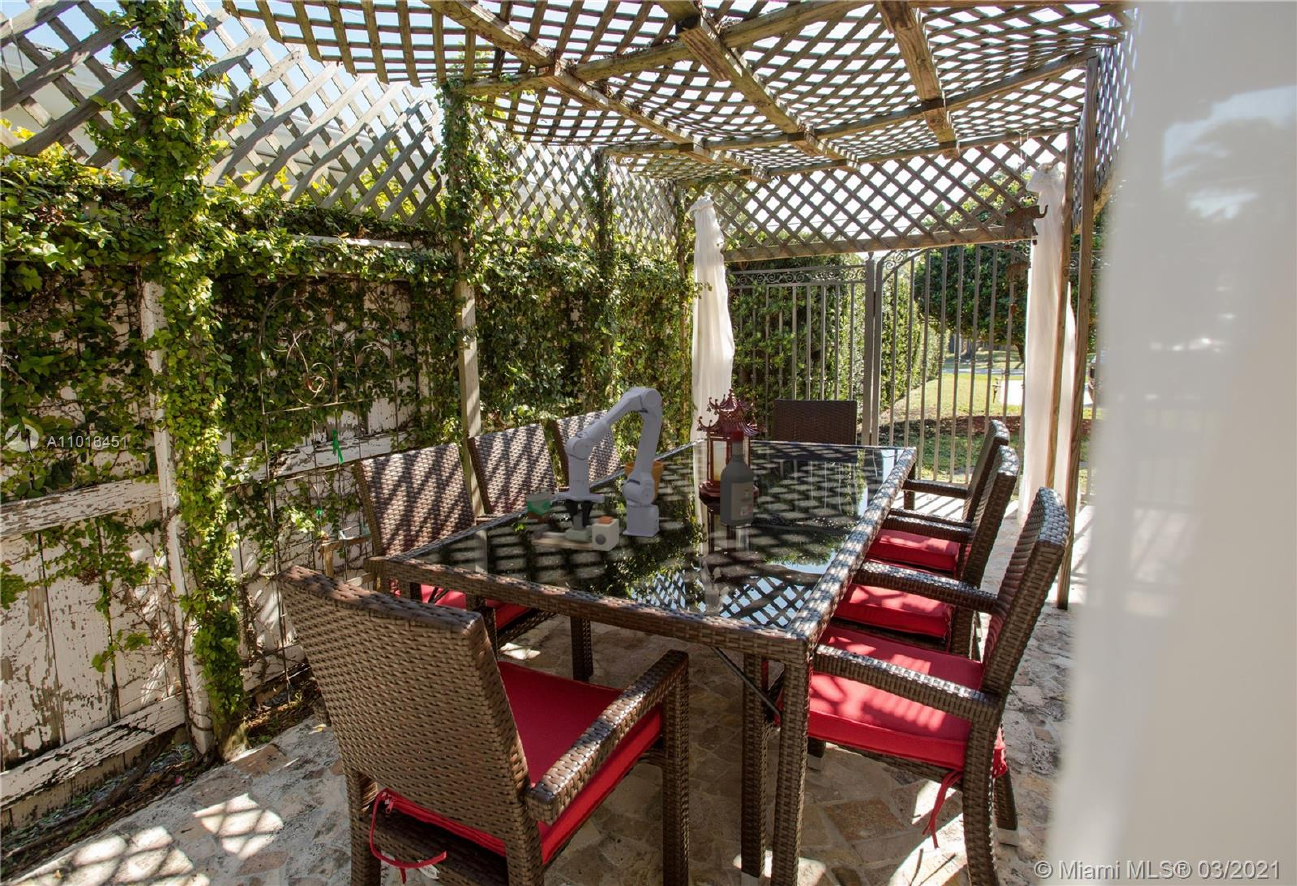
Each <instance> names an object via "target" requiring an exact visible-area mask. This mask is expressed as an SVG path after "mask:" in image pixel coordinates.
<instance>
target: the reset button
mask: <svg viewBox="0 0 1297 886" xmlns="http://www.w3.org/2000/svg"><path fill="white" fill-rule="evenodd" d="M612 519H613V517H612V516H604V515H603V516H601V517H599V518H598V521H599V524H611V523H612Z"/></svg>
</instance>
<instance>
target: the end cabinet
mask: <svg viewBox="0 0 1297 886" xmlns="http://www.w3.org/2000/svg"><path fill="white" fill-rule="evenodd" d="M619 522H620V519H619V518H612V523H611V524H599V520H598V521H596V522H594V523H593V524H592V525H591V526H592V543H593V550H595V551H605V552H610V551H612V550H613V549H614V548H615V547H616V546H617V545H618V544H619V543H620V531H619V530H620V525H619V524H620V523H619ZM616 544H617V545H616ZM593 550H592V551H593Z"/></svg>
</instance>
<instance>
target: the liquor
mask: <svg viewBox="0 0 1297 886" xmlns="http://www.w3.org/2000/svg"><path fill="white" fill-rule="evenodd" d="M744 431H745V430H744V429H732V430H731V441H732V444H731V446H732V447H731V451H732V452H731V459H730V461H729V462H728V463H727V464H726V465H725V467H724V468H723V469H722V471H721V473H720V484H719V485H720V492H719V493H720V495H719V496H720V499H719V502H720V503H719V505H720V506H719V523H720V524H721V523H724V524H727V525H730V526H741V525H744V524H747V523H752V522H753V523H754V492H755V491H754V490H755V489H754V484H755V473H754V472H753V470H752V468H751V467H750V466H749V465H748V464H747V463H746V461H745V458H744V440H745V439H744V436H745V435H744V434H745V433H744Z"/></svg>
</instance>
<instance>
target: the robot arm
mask: <svg viewBox="0 0 1297 886" xmlns="http://www.w3.org/2000/svg"><path fill="white" fill-rule="evenodd" d="M662 402H663V397H662V396H661V394H660V393H659V391H658V390H657V389H655V388H653V387H641V386H636V385H634V386H632V387H630V388H629V389H628V390H627V391H626V392H624V393H623V394H622V397H620V399H619V400H618V401H617V402H616V403H615V404H614V405H613V406H612V407H611V408H610V409H609V410H608V411H607V412H606V413H605V414H604V416H602V417H601V418H594V419H590V420H589V421H588V425H586V426H585V427H584V428H583V429H582V430H581V431H577V433H576V436H572V437H571V436H570V438H569V439H568V440H567V441H566V443H565V446H564V448H563V450H564V451H565V453H566V455H567V456H568V457H567V459H568V488H569V489H568V491H562V492H561V491H557V492H555V493H554V500H555V501H559V500H560V501H561V500H562V501H565V502H564V503H563V505H564V507H565V508H566V510H567V513H568V515H569V517H570V520H571V523H572V526H574V518H573V516H575V515H576V514H578V509H579V502H581V503H580V509H581V513H582V524H583V527H586V526H587V525H588V526H589V520H590V515H591V513H592V510H593V508H594V505H595V503H598V504H603V503H605V501H606V500H605V494H597V493H592V492H590V463H589V461H590V459H589V457H590V456H591V455H592V453H593V451H594V447H596V446H598V444H599V443H600V442H601V441H602V440H603V439H605V438H606V436H607V435H609V433H610V427H612V426H613V425H614V424H616V422H618V421H619V420H620V419H622V418H623V417H624V416H625V415H626V414H628V413H629V412H631V411H637V412H638V413H639V415H640V417H641V418H642V419H643V422H642V428H641V433H640V438H639V442H638V446H637V452H636V457H635V460H634V461H635V465H634V470H633V471H632V472H631V473H630V474H629V475H628V477H627V476H626V477H627V478H626V480H625V483H624V484H623V486H622V489H621V492H622V493H621V494H622V495H623V497H624V499H625V502H626V530H623V532H622V535H623V536H633V537H634V536H635V537H647V538H648V537H649V538H653V537H654V536H655V535H656V534H657V533H658V532H659V531H660V528H659V525H660V522H659V521H660V516H659V515H660V512H659V507H658V505H655V504H652V503H653V502H654V501H655V500H654V497H655V491H654V485H655V482H654V479H653V477H652V475H651V472H652V467H653V463H654V461H655V457H656V452H657V447H658V443H659V438H660V433H661V428H662V425H663V419H664V413H663V409H662Z"/></svg>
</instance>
